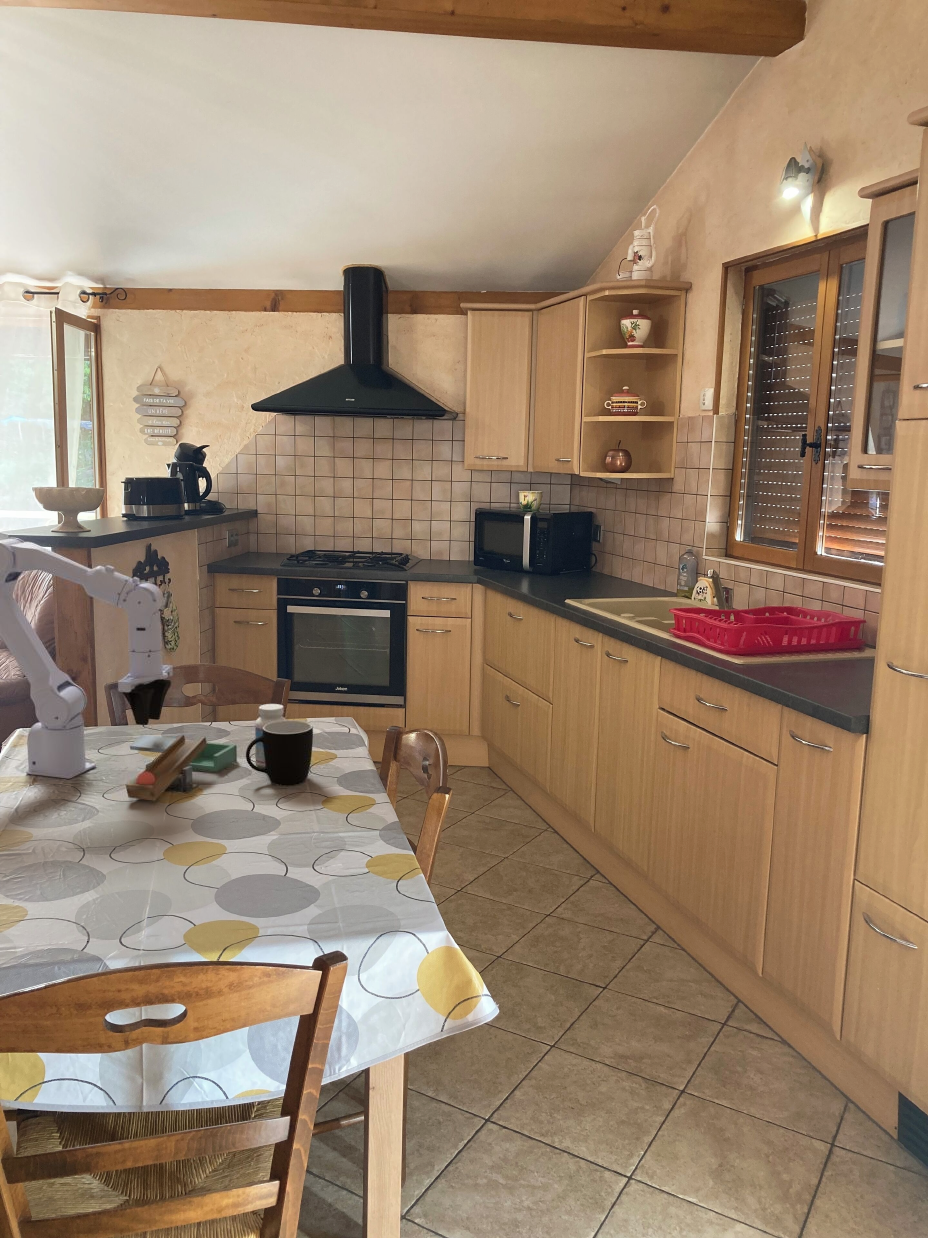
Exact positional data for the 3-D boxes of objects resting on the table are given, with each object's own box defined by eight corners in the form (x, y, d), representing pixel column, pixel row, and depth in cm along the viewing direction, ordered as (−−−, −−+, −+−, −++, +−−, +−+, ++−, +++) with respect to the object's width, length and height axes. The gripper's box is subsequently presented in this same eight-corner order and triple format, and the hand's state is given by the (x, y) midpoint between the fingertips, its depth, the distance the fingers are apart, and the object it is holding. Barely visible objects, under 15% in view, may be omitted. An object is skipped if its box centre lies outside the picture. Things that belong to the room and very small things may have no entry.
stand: (140, 788, 166) (139, 766, 165) (153, 781, 170) (152, 759, 169) (186, 793, 164) (185, 771, 163) (198, 786, 168) (197, 764, 167)
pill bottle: (270, 770, 177) (269, 712, 175) (248, 763, 181) (248, 707, 179) (294, 762, 182) (293, 706, 180) (273, 756, 186) (272, 701, 184)
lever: (85, 795, 162) (81, 779, 160) (142, 741, 177) (139, 726, 176) (157, 804, 158) (154, 788, 157) (209, 748, 174) (207, 733, 173)
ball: (135, 792, 159) (130, 778, 158) (144, 780, 162) (140, 767, 160) (151, 794, 159) (146, 780, 157) (160, 782, 161) (155, 769, 160)
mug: (308, 770, 178) (308, 718, 176) (317, 786, 169) (316, 731, 168) (243, 776, 174) (242, 723, 172) (249, 792, 165) (248, 736, 164)
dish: (179, 768, 177) (178, 752, 177) (199, 757, 184) (199, 741, 184) (217, 772, 175) (217, 756, 175) (236, 761, 182) (236, 745, 182)
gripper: (141, 658, 164) (144, 734, 166) (186, 644, 178) (188, 713, 180) (106, 655, 166) (109, 730, 168) (153, 641, 180) (155, 710, 182)
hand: (147, 721), depth 174 cm, fingers open, 3 cm apart
